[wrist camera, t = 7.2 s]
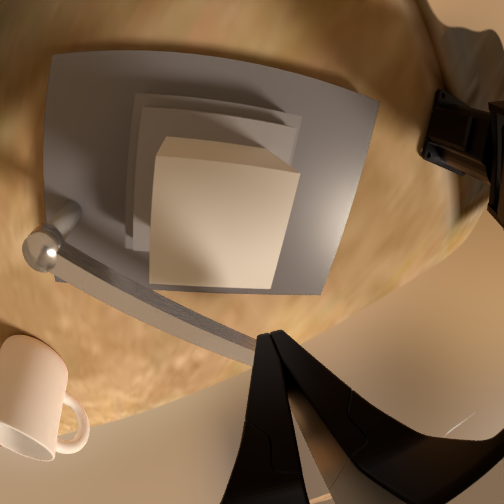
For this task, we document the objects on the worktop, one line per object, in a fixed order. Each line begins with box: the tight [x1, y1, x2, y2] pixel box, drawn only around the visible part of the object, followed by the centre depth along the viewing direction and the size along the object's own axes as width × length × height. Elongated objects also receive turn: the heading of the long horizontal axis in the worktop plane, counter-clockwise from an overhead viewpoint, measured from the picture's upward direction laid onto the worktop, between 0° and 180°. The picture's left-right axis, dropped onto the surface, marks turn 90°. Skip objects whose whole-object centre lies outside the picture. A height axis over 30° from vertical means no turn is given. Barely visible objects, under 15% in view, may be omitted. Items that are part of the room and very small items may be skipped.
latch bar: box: [22, 224, 256, 366], centre depth 15 cm, size 19×2×1 cm, turn 50°
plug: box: [133, 106, 300, 289], centre depth 13 cm, size 7×7×8 cm
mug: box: [0, 335, 89, 461], centre depth 20 cm, size 12×8×10 cm
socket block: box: [43, 50, 380, 295], centre depth 16 cm, size 20×15×6 cm
